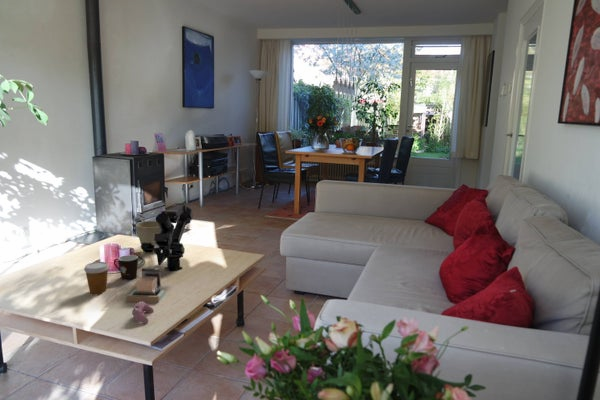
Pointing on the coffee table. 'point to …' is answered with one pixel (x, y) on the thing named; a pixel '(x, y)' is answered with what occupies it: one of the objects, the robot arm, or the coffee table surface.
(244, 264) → the coffee table surface
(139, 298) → the dock bay
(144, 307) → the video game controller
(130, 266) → the coffee mug
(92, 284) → the disposable coffee cup
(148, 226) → the plant pot
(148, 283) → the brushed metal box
